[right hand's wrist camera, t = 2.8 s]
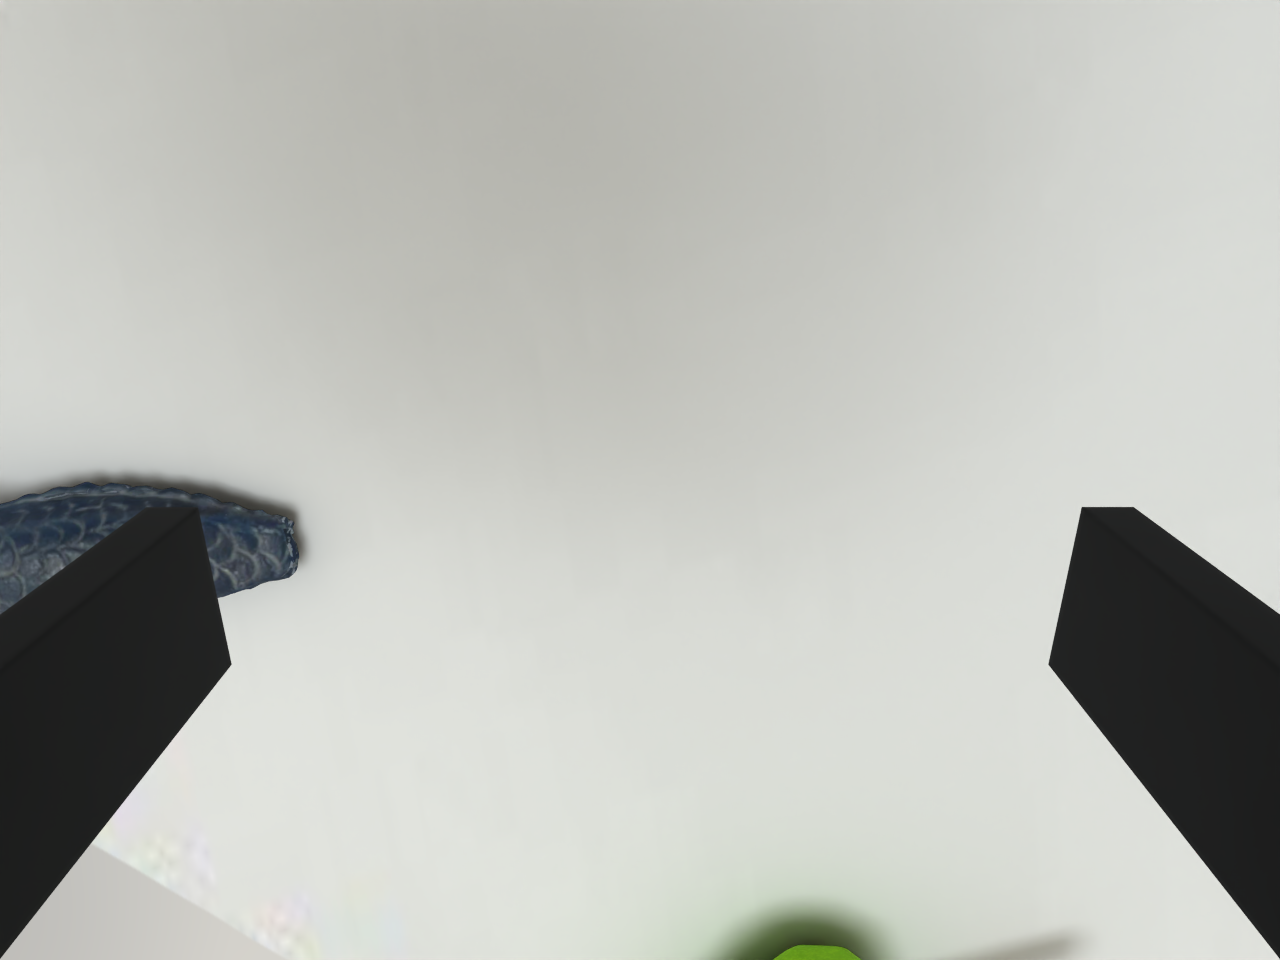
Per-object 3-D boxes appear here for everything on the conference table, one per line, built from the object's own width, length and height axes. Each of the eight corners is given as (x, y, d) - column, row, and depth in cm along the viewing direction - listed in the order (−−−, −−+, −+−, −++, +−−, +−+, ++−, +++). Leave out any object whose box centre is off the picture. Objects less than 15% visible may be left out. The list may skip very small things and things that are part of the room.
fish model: (-130, 482, 42) (-224, 526, 37) (289, 465, 42) (246, 506, 37) (-80, 599, 45) (-163, 653, 40) (314, 582, 44) (277, 635, 40)
